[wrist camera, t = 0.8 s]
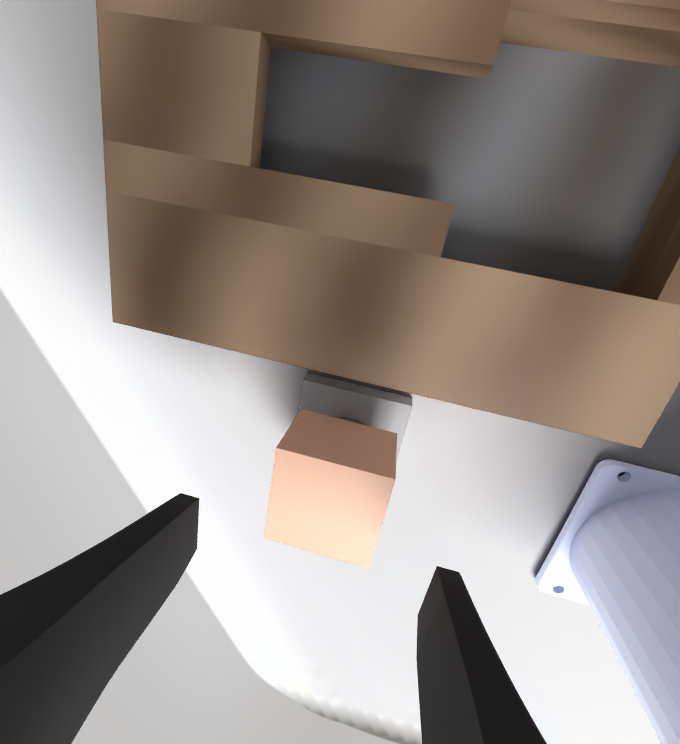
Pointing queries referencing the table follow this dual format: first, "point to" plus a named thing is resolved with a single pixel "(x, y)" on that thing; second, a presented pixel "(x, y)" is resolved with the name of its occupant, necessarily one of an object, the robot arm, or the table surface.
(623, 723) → the table surface
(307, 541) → the peach colored cube
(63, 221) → the table surface
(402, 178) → the keyhole plate
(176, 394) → the table surface
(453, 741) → the robot arm
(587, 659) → the table surface
